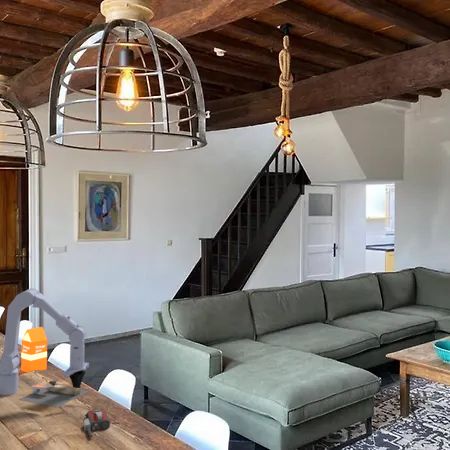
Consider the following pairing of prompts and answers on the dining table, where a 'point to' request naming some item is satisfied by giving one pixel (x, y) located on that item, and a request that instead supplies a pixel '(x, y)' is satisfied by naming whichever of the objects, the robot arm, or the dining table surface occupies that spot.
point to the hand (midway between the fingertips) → (76, 389)
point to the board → (51, 398)
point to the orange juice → (34, 350)
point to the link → (63, 389)
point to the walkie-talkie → (96, 420)
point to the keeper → (37, 388)
